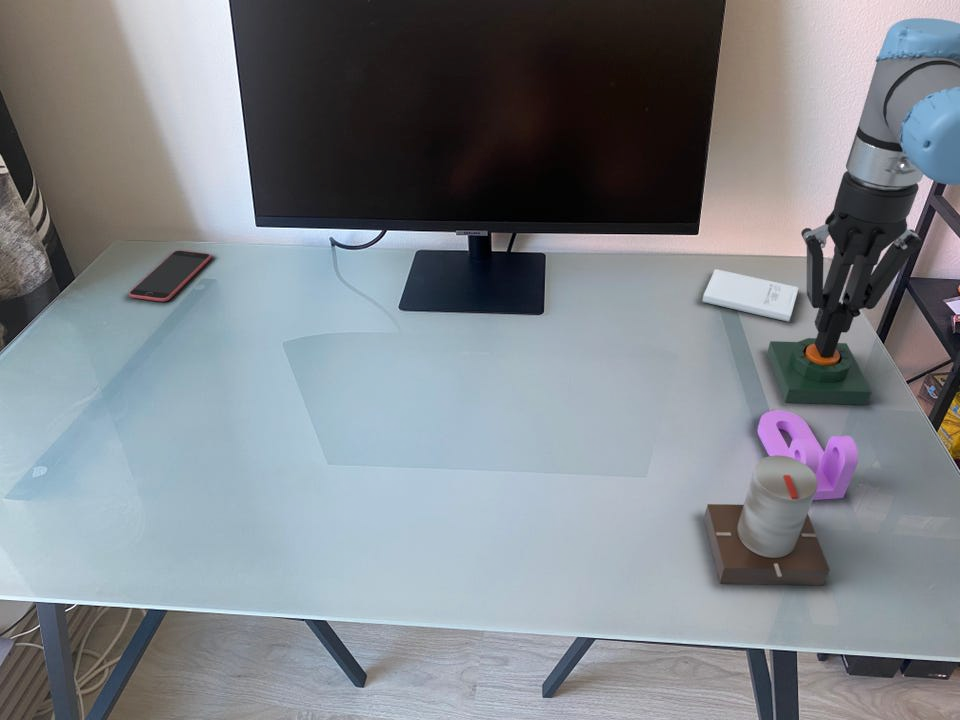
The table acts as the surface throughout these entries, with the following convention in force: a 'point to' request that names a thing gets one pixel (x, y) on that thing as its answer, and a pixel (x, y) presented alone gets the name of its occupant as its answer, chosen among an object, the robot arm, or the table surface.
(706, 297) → the hard drive
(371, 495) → the table surface
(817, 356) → the button
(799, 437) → the bracket
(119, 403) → the table surface
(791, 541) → the dial
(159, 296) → the smartphone
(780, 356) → the switchbox
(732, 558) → the panel
